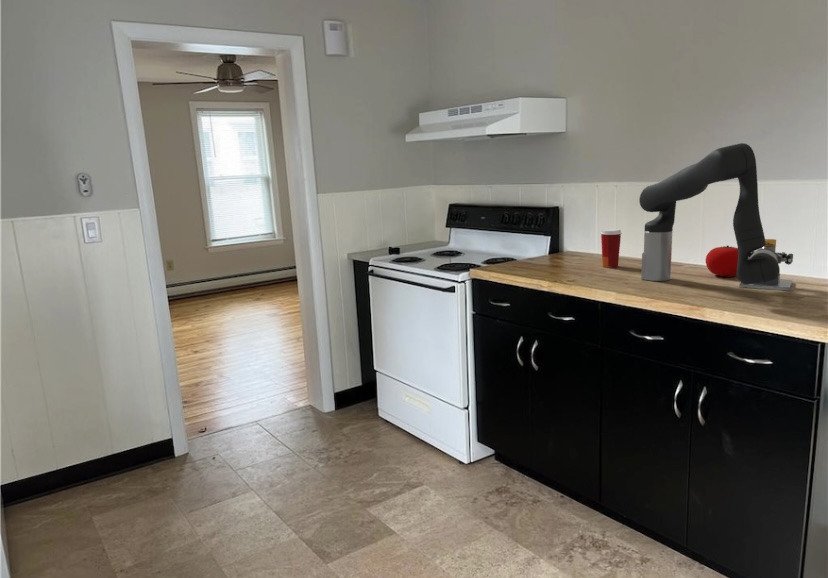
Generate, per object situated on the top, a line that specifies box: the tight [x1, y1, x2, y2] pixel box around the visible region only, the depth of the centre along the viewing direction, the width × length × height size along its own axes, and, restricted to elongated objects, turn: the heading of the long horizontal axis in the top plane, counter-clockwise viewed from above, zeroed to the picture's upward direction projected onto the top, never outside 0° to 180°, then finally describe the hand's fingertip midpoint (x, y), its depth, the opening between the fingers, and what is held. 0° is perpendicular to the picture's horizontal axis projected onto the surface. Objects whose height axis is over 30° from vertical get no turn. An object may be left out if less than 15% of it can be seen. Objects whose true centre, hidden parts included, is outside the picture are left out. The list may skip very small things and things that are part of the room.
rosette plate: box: [738, 273, 793, 291], centre depth 200 cm, size 14×14×4 cm
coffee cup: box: [599, 228, 622, 269], centre depth 246 cm, size 8×8×15 cm
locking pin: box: [760, 238, 777, 252], centre depth 199 cm, size 4×4×14 cm
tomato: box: [705, 245, 738, 278], centre depth 218 cm, size 12×13×11 cm
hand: (768, 254), depth 198 cm, fingers open, 8 cm apart
